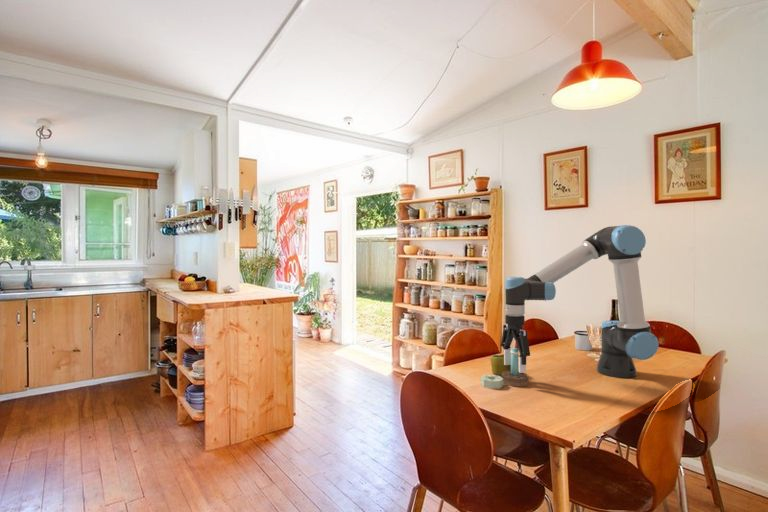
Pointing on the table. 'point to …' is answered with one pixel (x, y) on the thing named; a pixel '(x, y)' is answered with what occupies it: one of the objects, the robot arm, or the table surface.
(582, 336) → the mug
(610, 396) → the table surface
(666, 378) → the table surface
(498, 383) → the bead
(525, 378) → the brown ring
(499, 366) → the mug
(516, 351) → the teal cylinder
